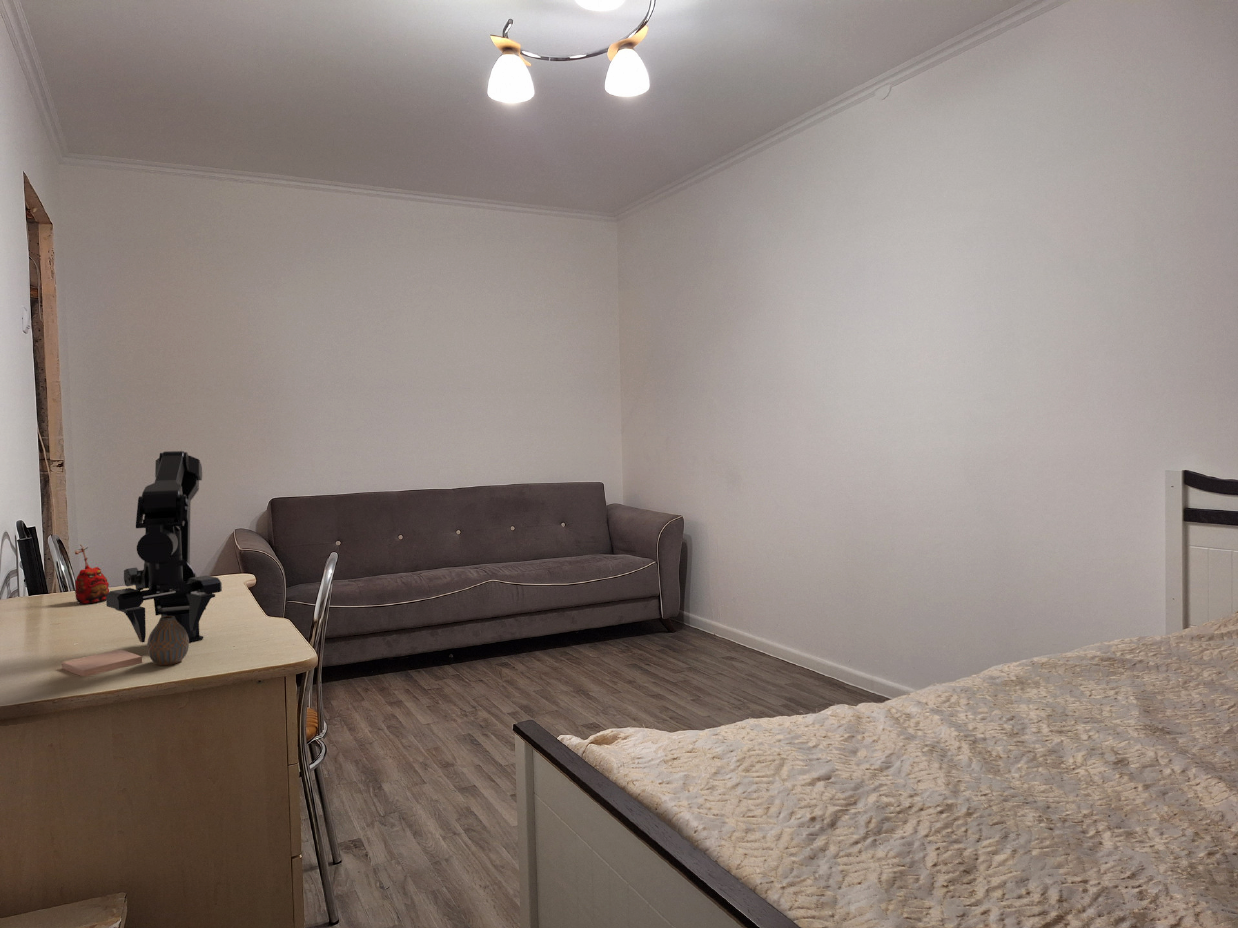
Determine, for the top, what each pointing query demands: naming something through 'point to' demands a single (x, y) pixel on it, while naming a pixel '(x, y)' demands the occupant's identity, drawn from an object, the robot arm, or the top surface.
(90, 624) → the top surface
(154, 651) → the vase
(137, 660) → the tile
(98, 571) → the red clay folk toy
